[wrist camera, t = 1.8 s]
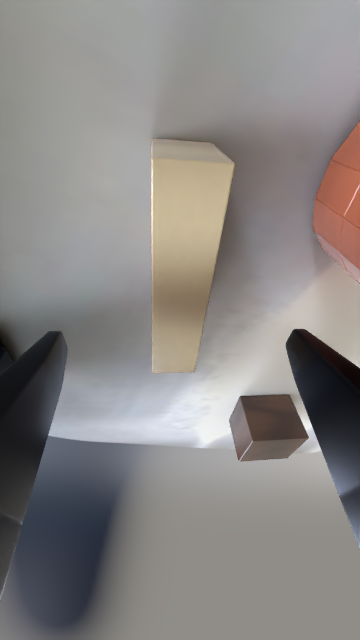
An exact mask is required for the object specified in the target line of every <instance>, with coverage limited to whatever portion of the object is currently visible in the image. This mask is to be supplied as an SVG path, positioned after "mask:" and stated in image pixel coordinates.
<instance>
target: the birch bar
mask: <svg viewBox="0 0 360 640" xmlns="http://www.w3.org/2000/svg"><path fill="white" fill-rule="evenodd" d="M234 169H235V163H234V162H232V161H231V160H230V159H229V158H228V157H227V156H226V155H225V154H224V153H222V152H221V151H220V150H219V149H218V148H217V147H216V146H215V145H214V144H212V143H207V142H194V141H181V140H169V139H156V138H153V139H152V140H151V250H152V373H188V372H195V368H196V363H197V358H198V353H199V348H200V343H201V338H202V333H203V328H204V322H205V317H206V312H207V307H208V302H209V297H210V292H211V287H212V282H213V276H214V271H215V266H216V261H217V256H218V251H219V246H220V241H221V236H222V230H223V225H224V220H225V215H226V210H227V205H228V200H229V195H230V190H231V184H232V179H233V174H234Z"/></svg>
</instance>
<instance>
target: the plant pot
mask: <svg viewBox="0 0 360 640" xmlns="http://www.w3.org/2000/svg"><path fill="white" fill-rule="evenodd" d="M313 229H314V232H315V234H316V236H317V238H318V240H319V242H320V245H321V247H322V249H323V250H324V251H325V252H326V253H327V254H329V255H330V256H331V257H332V258H333V259H334V260H335V261H336V262H337V263H338V264H339V265H340V266H341V267H342V268H343V269H345V270H346V271H347V272H348V273H349V274H350V275H351V276H352V277H353V278H354V279H355V280H356V281H357V282H358V283H359V284H360V121H359V123H358V124H357V125H356V127H355V128H354V129H353V131H352V132H351V133H350V135H349V136H348V137H347V139H346V140H345V141H344V142H343V144H342V145H341V146H340V148H339V149H338V150H337V152H336V153H335V154H334V156H333V157H332V158H331V161H330V163H329V165H328V167H327V170H326V172H325V175H324V177H323V179H322V182H321V184H320V187H319V189H318V191H317V194H316V196H315V199H314V217H313Z"/></svg>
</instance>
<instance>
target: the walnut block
mask: <svg viewBox="0 0 360 640" xmlns="http://www.w3.org/2000/svg"><path fill="white" fill-rule="evenodd" d="M229 422H230V427H231V431H232V435H233V439H234V444H235V448H236V452H237V457H238V460H239V461H252V460H268V459H282V458H288V457H289V456H290V455H291V454H292V453H293V452H294V451H295V450H296V449H297V448H299V447H300V446H301V445H302V444H303V443H304V442H305V441H306V440H307V439H308V438H309V437H308V435H307V433H306V430H305V428H304V426H303V424H302V421H301V419H300V417H299V415H298V413H297V410H296V408H295V406H294V404H293V401H292V399H291V397H290V395H269V396H243V397H240V398H239V400H238V402H237V404H236V406H235V409H234V411H233V413H232V415H231V417H230V419H229Z"/></svg>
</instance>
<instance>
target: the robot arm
mask: <svg viewBox="0 0 360 640" xmlns="http://www.w3.org/2000/svg"><path fill="white" fill-rule="evenodd" d="M286 350H287V354H288V358H289V361H290V365H291V369H292V373H293V376H294V380H295V383H296V385H297V388H298V391H299V393H300V396H301V398H302V401H303V404H304V406H305V409H306V411H307V414H308V416H309V419H310V422H311V424H312V427H313V429H314V432H315V434H316V437H317V440H318V442H319V445H320V447H321V450H322V453H323V455H324V458H325V460H326V463H327V465H328V468H329V471H330V473H331V476H332V478H333V481H334V483H335V486H336V489H337V491H338V494H339V497H340V499H341V502H342V505H343V507H344V510H345V512H346V515H347V517H348V520H349V523H350V525H351V528H352V530H353V533H354V535H355V538H356V540H357V543H358V545H359V548H360V368H359V367H357V366H356V365H355V364H353V363H352V362H350V361H349V360H348V359H346V358H345V357H343V356H342V355H341V354H339V353H338V352H336V351H335V350H334V349H332V348H331V347H329V346H328V345H327V344H325V343H324V342H322V341H321V340H319V339H318V338H317V337H315V336H314V335H312V334H311V333H310V332H308V331H307V330H305V329H294V330H293V331H292V333H291V334H290V336H289V338H288V340H287V342H286ZM67 351H68V348H67V344H66V341H65V338H64V335H63V333H62V332H61V331H49V332H48V333H46V334H45V335H44V336H43V337H42V338H41V339H40V340H39V341H37V342H36V343H35V344H34V345H33V346H32V347H31V348H29V349H28V350H27V351H26V352H25V353H24V354H23V355H22V356H20V357H19V358H18V359H17V360H16V361H15V362H14V361H13V360H12V358H11V357H10V355H9V353H8V352H7V350H6V349H5V347H4V345H3V344H2V342H1V341H0V599H1V595H2V592H3V589H4V585H5V582H6V578H7V575H8V571H9V568H10V565H11V561H12V558H13V554H14V551H15V547H16V544H17V541H18V537H19V534H20V530H21V527H22V525H21V524H22V522H23V519H24V516H25V512H26V509H27V506H28V502H29V499H30V495H31V492H32V488H33V485H34V482H35V478H36V474H37V471H38V468H39V464H40V461H41V457H42V454H43V451H44V447H45V444H46V440H47V437H48V434H49V430H50V427H51V423H52V420H53V416H54V413H55V410H56V406H57V403H58V399H59V396H60V392H61V388H62V383H63V376H64V370H65V364H66V358H67Z"/></svg>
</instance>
